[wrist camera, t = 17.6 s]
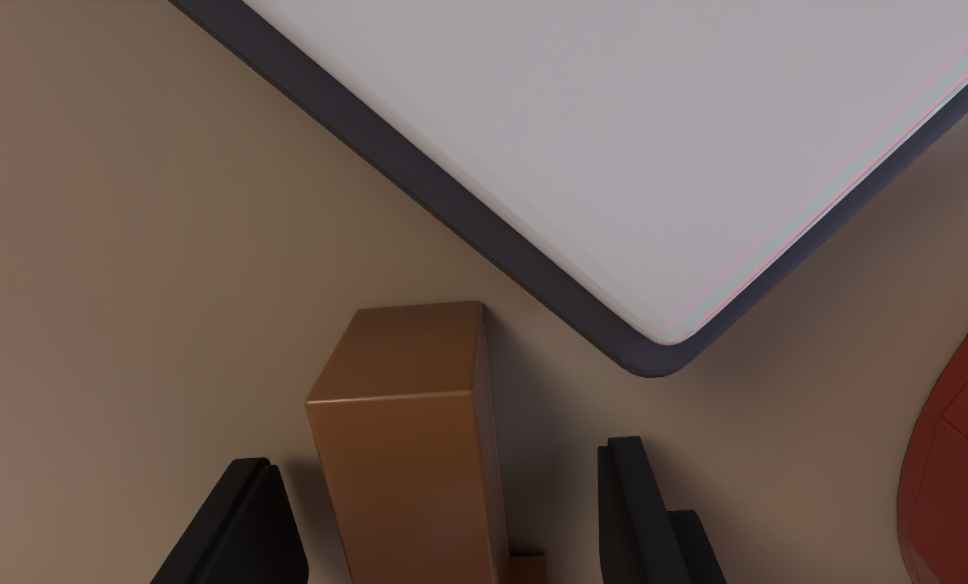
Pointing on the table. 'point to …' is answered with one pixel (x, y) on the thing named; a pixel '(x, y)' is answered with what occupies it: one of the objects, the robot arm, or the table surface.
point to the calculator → (623, 134)
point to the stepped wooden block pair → (415, 450)
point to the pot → (938, 483)
